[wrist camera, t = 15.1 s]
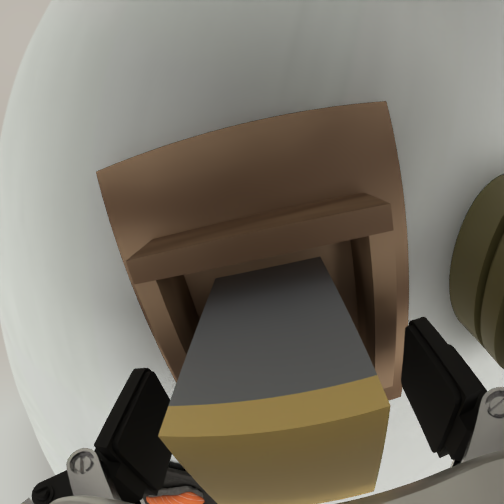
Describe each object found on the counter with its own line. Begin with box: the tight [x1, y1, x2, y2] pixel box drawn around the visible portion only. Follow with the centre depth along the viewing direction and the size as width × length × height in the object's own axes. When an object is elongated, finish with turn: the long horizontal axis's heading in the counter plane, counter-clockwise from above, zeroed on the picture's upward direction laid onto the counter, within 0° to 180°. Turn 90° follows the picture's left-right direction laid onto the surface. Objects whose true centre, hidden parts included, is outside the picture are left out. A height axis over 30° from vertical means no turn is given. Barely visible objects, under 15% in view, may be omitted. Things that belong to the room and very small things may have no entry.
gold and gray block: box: [158, 257, 390, 504], centre depth 10 cm, size 5×5×9 cm
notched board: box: [96, 101, 409, 401], centre depth 13 cm, size 18×14×4 cm
